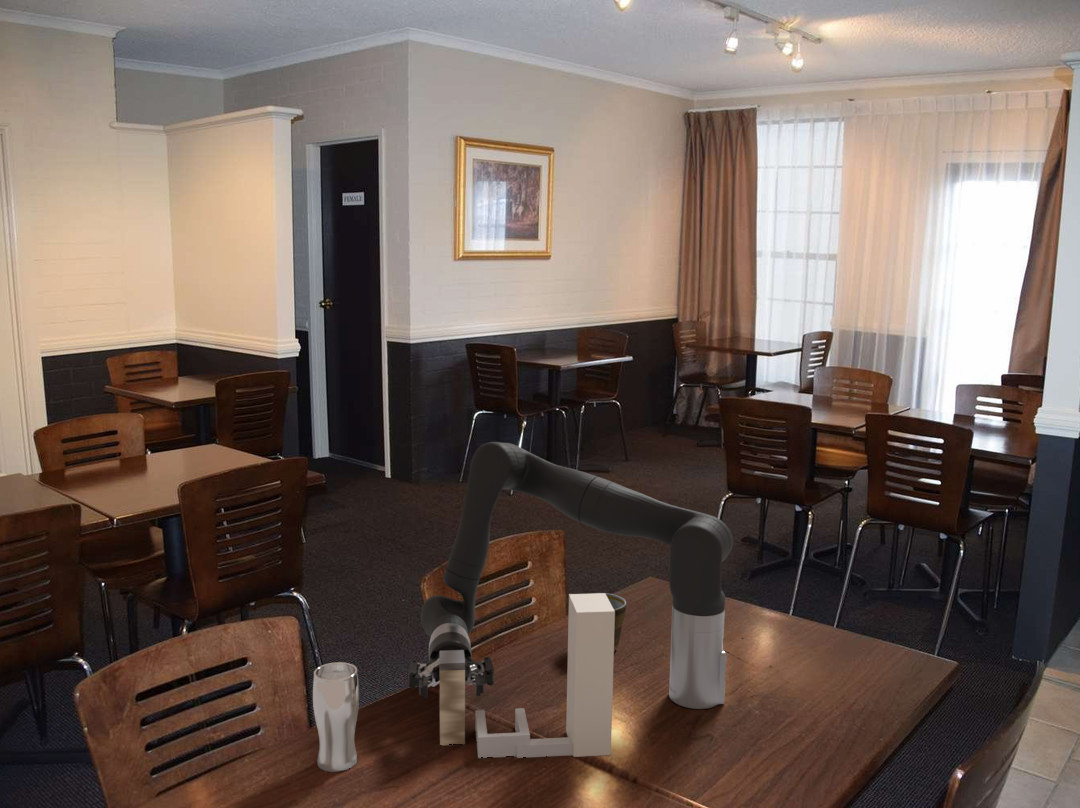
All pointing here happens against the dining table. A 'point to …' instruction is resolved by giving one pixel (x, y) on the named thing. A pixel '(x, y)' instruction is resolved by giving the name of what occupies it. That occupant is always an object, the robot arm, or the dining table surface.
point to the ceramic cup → (617, 615)
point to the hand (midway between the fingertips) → (452, 692)
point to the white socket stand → (571, 691)
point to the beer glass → (336, 714)
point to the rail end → (452, 697)
